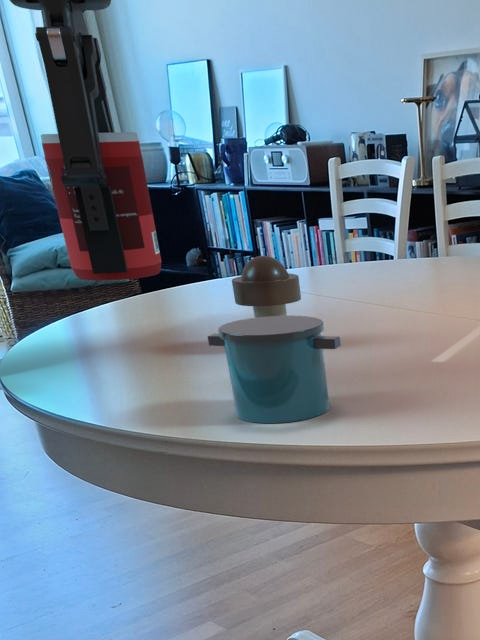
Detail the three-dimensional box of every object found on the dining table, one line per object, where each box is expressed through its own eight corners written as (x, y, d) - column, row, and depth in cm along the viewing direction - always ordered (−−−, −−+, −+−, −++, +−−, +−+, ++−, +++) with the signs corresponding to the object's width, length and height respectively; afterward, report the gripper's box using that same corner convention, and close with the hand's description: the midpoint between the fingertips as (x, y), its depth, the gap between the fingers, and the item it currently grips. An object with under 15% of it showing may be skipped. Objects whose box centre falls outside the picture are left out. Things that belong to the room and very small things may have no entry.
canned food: (128, 266, 83) (100, 133, 78) (182, 272, 79) (157, 131, 74) (54, 277, 78) (19, 134, 72) (108, 283, 74) (75, 133, 68)
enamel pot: (324, 427, 71) (313, 336, 67) (198, 421, 74) (181, 333, 70) (363, 399, 78) (355, 316, 75) (246, 395, 81) (233, 314, 77)
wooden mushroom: (231, 353, 97) (215, 260, 92) (261, 340, 103) (248, 251, 98) (290, 355, 96) (277, 260, 91) (317, 341, 101) (306, 251, 97)
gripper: (78, -84, 58) (149, 280, 70) (117, -34, 76) (169, 250, 87) (-43, -87, 57) (50, 285, 69) (25, -35, 75) (90, 254, 86)
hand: (117, 265), depth 78 cm, fingers closed on canned food, 8 cm apart
